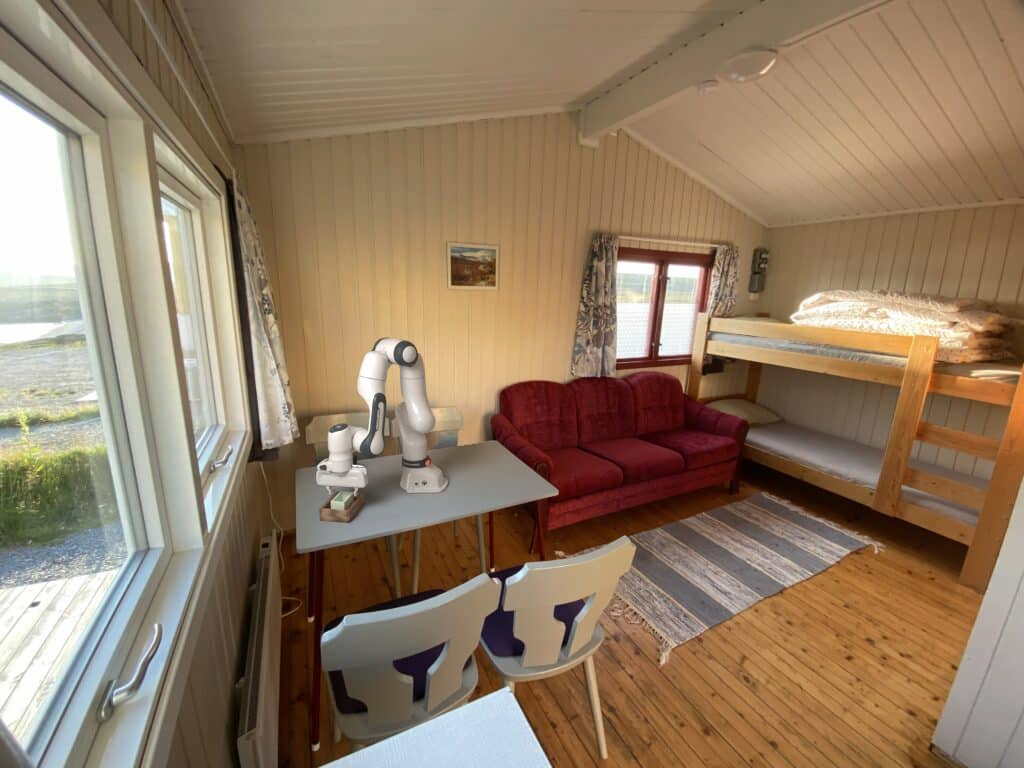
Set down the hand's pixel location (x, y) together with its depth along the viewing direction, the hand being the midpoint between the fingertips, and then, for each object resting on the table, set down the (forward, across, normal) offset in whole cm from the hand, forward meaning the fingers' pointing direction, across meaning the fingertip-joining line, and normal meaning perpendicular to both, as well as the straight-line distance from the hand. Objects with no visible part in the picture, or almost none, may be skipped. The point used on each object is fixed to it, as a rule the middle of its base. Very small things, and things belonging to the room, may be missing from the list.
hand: (343, 495), depth 175 cm
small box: (+8, +14, -33) cm, 37 cm away
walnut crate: (+8, 0, 0) cm, 8 cm away
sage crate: (+7, 0, 0) cm, 7 cm away
